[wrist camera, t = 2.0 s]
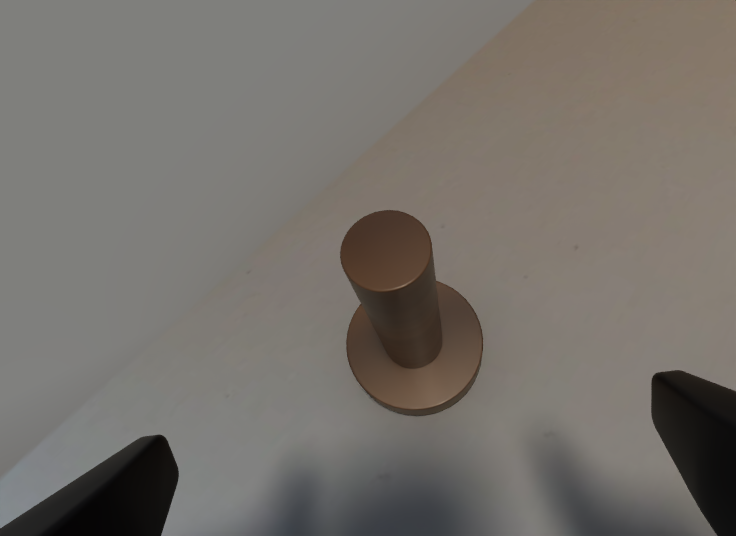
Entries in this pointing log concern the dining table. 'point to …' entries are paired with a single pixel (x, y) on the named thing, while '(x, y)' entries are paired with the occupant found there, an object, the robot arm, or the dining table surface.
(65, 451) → the dining table surface
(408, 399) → the brown flanged post
